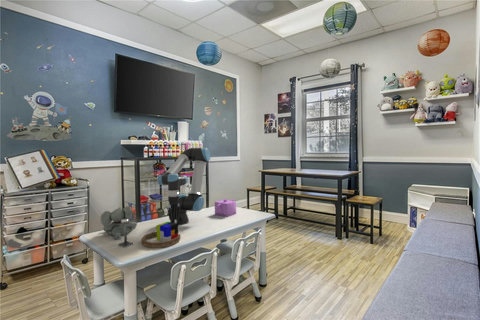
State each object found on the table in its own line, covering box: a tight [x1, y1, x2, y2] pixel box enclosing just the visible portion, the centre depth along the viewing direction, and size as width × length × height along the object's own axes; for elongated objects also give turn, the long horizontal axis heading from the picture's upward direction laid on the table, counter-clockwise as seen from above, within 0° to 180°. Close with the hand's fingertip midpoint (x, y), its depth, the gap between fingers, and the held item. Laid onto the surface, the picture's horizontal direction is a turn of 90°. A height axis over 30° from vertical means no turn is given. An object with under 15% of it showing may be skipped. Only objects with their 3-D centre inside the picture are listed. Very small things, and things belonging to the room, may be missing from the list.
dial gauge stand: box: [118, 218, 138, 248], centre depth 166 cm, size 8×8×16 cm
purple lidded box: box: [214, 198, 237, 217], centre depth 243 cm, size 15×25×14 cm, turn 143°
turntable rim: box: [141, 231, 181, 249], centre depth 171 cm, size 24×21×3 cm
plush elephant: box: [100, 206, 138, 240], centre depth 188 cm, size 27×22×21 cm
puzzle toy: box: [155, 221, 179, 242], centre depth 177 cm, size 10×10×10 cm
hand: (174, 228), depth 184 cm, fingers closed
